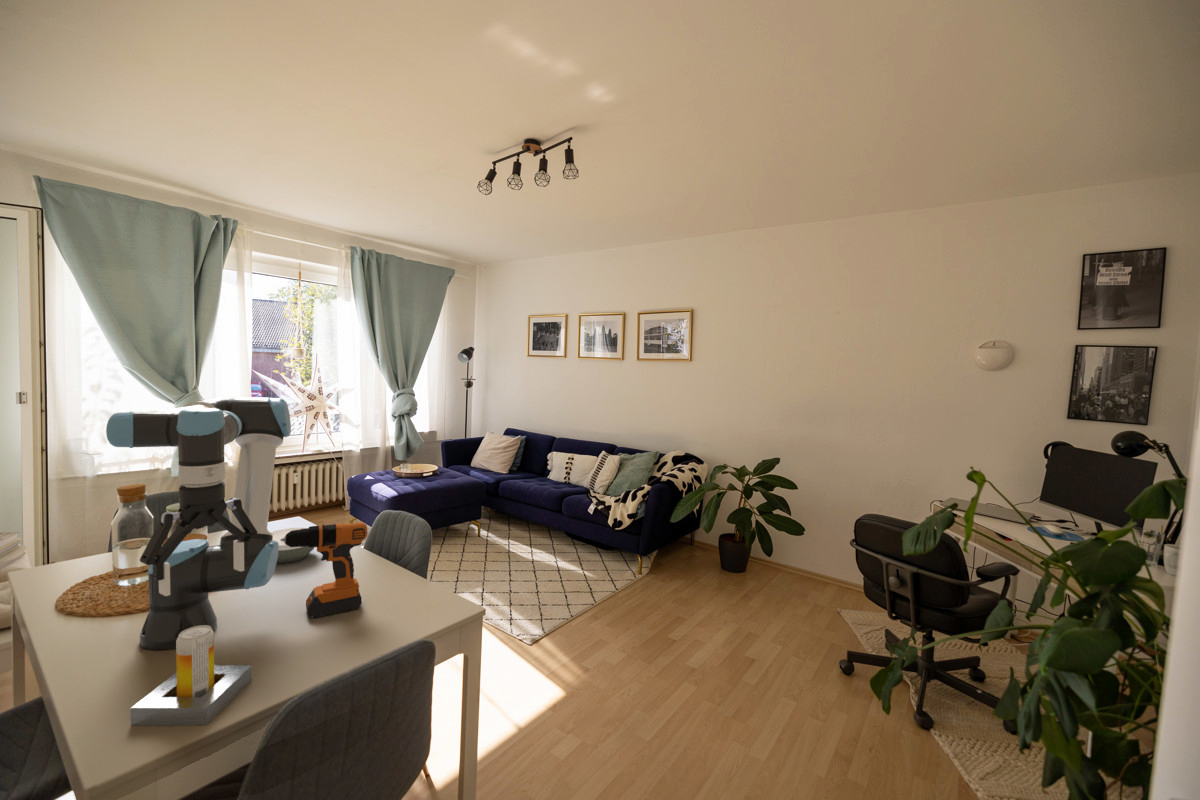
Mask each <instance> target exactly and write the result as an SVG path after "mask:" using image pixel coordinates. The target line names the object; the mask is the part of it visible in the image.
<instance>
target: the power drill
mask: <svg viewBox="0 0 1200 800" xmlns="http://www.w3.org/2000/svg"><path fill="white" fill-rule="evenodd" d="M304 528H305V529H300V530H293V531H290V532H289V533H287V534H286V536H285V537H284V538H282V539H281V541H284V543H285V544H286V545H288V546H289V547H306V546H309V547H314V548H316V552H317V553H320V554H321V555H322V557H321V558H320V559H321V561H322V562H324V561H326V562H327V563H328V562H331V563H332V571H333V576H334V579H335V580H334V581H333V582H328V583H323V584H322V585H319V586H315V587H314V588H313V589H312V590H311V592H310V594H309V595H308V597H307V598H306V600H305V608H306V609H305V610H306V615H307V616H308V617H312V618H314V619H316V618H319V617H325V616H330V615H335V614H339V613H344V612H347V611H348V612H349V611H352V610H357V609H359V608H360V607H361V605H362V595H361V593H360V585H359V582H358V579H357V578H354V576H355V574H354V572H355V568H354V567H355V565H354V560H353V557H352V555H351V549H353V548H355V547H358V546H360V545H361V544H362V543H363V541H365V540H366V539H367V536H368V526H367V524H366V523H365V522H363V521H362V522H361V521H360V522H348V523H334V524H326V525H325V524H319V525H312V526H309V527H304Z"/></svg>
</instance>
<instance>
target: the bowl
mask: <svg viewBox="0 0 1200 800" xmlns="http://www.w3.org/2000/svg"><path fill="white" fill-rule="evenodd" d="M305 528H306V527H291V528H283V529H279V530H274V531H269V532H270V533H271V534H272V535H273V539H272V541H273V540H274V541H277V542H278V545H279V549H278V559H277V564H279V563H280V564H289V563H293V562H298V561H300V560H301V559H303V558H304V557H305V556H307V555H309V554H310V553H311V552H313V550H314V549H315V547H309V546H306V547H289V546H288V545H286V544H285V543H284V541H281V539H282V538H284V537H285V536H286V534H287V533H289V532H290V531H293V530H300V529H305Z"/></svg>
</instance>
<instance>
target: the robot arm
mask: <svg viewBox="0 0 1200 800" xmlns="http://www.w3.org/2000/svg"><path fill="white" fill-rule="evenodd" d="M289 410H290V408H289V405H288V403H287V402H286V400H285V399H283V398H280V397H279V398H278V397H277V398H275V397H269V396H267V397H249V396H248V397H240V396H239V397H237V396H234V397H233V396H222V397H215V398H208V399H203V400H198V401H192V402H189V403H186V404H185V405H183V406H182V407H175V408H173V407H172V408H166V409H159V410H150V411H125V412H124V411H122V412H119V411H118V412H115V413H113V414H112V415H110V417H109V418H108V420H107V423H106V429H105V433H106V439H107V441H108V443H109V444H110V445H111V446H113V447H116V448H129V449H132V448H155V447H156V448H157V447H158V448H160V447H161V448H166V447H176V448H177V453H178V454H177V455H178V483H179V484H180V486H179V487H178V502H179V509H178V510H177V511H171V512H166V511H162V512H160V514H159V519H158V524H157V526H156V527H155V530H154V532H153V534H152V536H151V538H150V539H149V541H148V543H147V545H146V547H145V548H144V551H143V552H142V554H141V556H140V559H139V562H140V563H142V564H144V565H146V566H148V570H147V575H148V577H147V578H148V605H149V606H148V614H147V615H146V618H145V621H144V623H143V626H142V627H141V631H140V635H139V644H140V646H141V647H142V648H143V649H145V650H151V651H161V650H170V649H176V640H177V638H178V637H179V634H180V633H181V632H182V631H184V630H186V629H188V628H191V627H194V626H200V625H208V626H210V627H211V629H212V630H213V632H215V630H216V629H217V627H218V619H217V618H218V617H217V614H216V613H215V611H214V608H213V607H212V603H211V601H210V599H209V593H218V592H228V591H235V590H236V591H237V590H249V589H254V588H260V587H264V586H266V585H267V584H268V583H269V582H270V581H271V579H272V578H273V576H274V572H275V570H276V566H277V564H278V562H277V559H278V549H279V545H278V542H277V541H274V540H273V541H272V539H273V535H272V534H271V533H270V532H271V531H269V530H268V523H269V514H270V505H271V498H272V497H271V496H272V490H273V479H274V471H275V470H274V469H275V463H276V453H277V448H278V447H280V446H282V445H283V442H284V438H287V437H290V436H291V432H292V431H291V430H292V428H291V427H292V425H291V423H292V422H291V415H290V411H289ZM233 441H234V442H236V444H237V445H239V448H240V450H239V457H238V463H237V471H236V479H235V485H234V492H233V497H231V498H230V499H229V500H226V501H225V497H226V483H225V482H224V480H225V478H226V476H225V475H226V474H225V445H228V444H230V443H233ZM227 509H228V510H230V511H231V513H230V520H229V519H228V518H227V517H226V516H224V515H223V514H224V512H225V511H226V510H227ZM177 519H179V520H180V522H178V524H177V525H176V526H175V530H173V532H172V533H171V535H170V536H169V537H168V535H169V533H170V531H171V529H172V527H173V524H175V523H176V522H177V521H176V520H177ZM215 524H219V526H221V527H222V528H223V529H225V530H226V531H227V532H225V533H224V534H223V535H222V536H221V537H220V542H219V544H217V545H210V543H209V541H208V540H207V539H204V538H203V539H202V538H195V539H194V538H193V539H188V540H184V539H185V538H186V537H187V535H189V534H190V533H192V531H193V530H194V529H195V530H200V529H203V528H205V527H212V526H215ZM167 537H168V538H167ZM165 540H166V541H165Z"/></svg>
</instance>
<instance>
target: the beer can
mask: <svg viewBox="0 0 1200 800" xmlns="http://www.w3.org/2000/svg"><path fill="white" fill-rule="evenodd" d="M175 659H176V660H175V661H176V663H175V664H176V668H175V669H176V671H175V673H176V677H177V697H202V696H203V695H204V694H205V693H206V692H208V691H209V690H210V689H211V688H212V687H213V686H214V665H215V631H213V630H212V629H211V627H210V626H208V625H200V626H194V627H191V628H188V629H186V630H184V631H182V632H181V633H180V634H179V637H178V638H177V640H176V648H175Z"/></svg>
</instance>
